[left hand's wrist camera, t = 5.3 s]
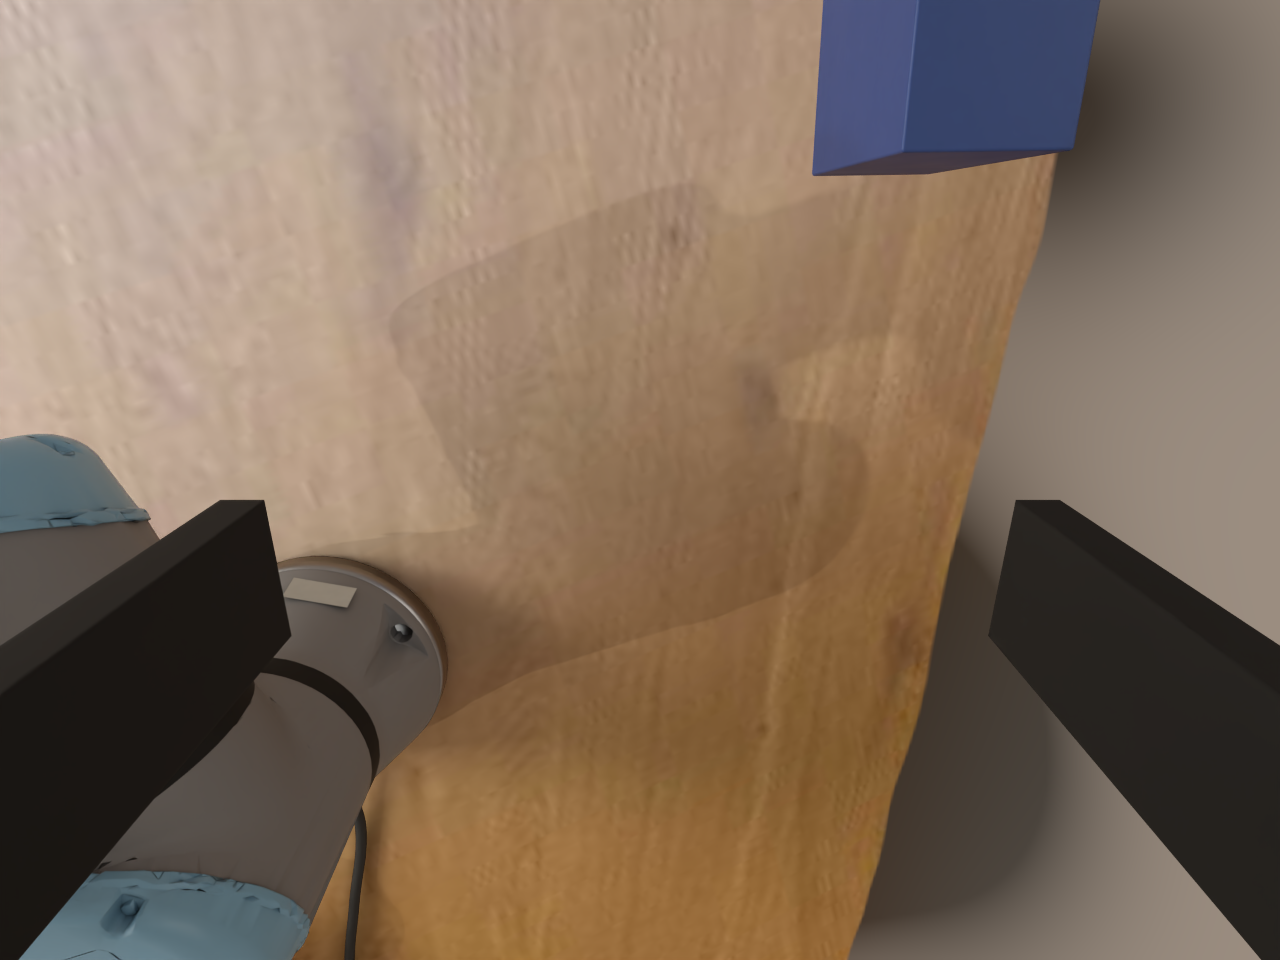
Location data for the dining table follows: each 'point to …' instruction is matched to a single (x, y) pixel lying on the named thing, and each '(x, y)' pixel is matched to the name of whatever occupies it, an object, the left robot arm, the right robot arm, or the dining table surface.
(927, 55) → the bar
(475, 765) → the dining table surface
